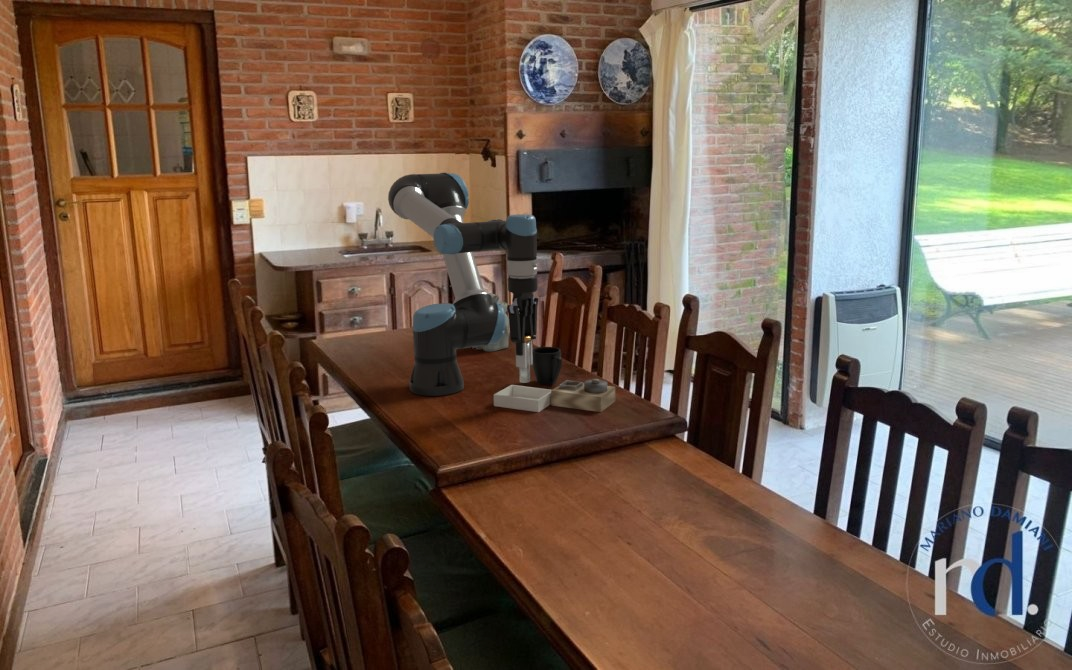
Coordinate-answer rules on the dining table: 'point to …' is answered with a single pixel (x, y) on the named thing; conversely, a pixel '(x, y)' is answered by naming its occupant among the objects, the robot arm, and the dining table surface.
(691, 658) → the dining table surface
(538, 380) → the mug
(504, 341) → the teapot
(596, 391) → the beige compartment box
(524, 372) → the pin
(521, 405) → the tray
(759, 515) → the dining table surface
